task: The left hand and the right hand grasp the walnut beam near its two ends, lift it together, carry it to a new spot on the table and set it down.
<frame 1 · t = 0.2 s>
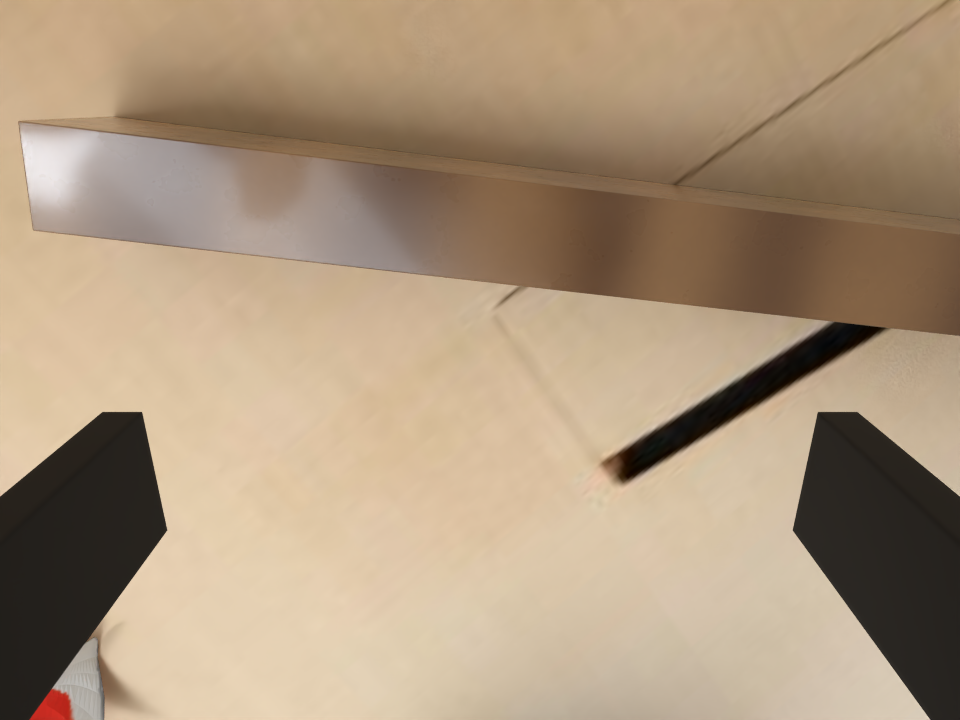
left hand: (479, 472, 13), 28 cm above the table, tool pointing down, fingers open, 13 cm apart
beam: (720, 233, 39), on the table
fish: (50, 675, 52), on the table
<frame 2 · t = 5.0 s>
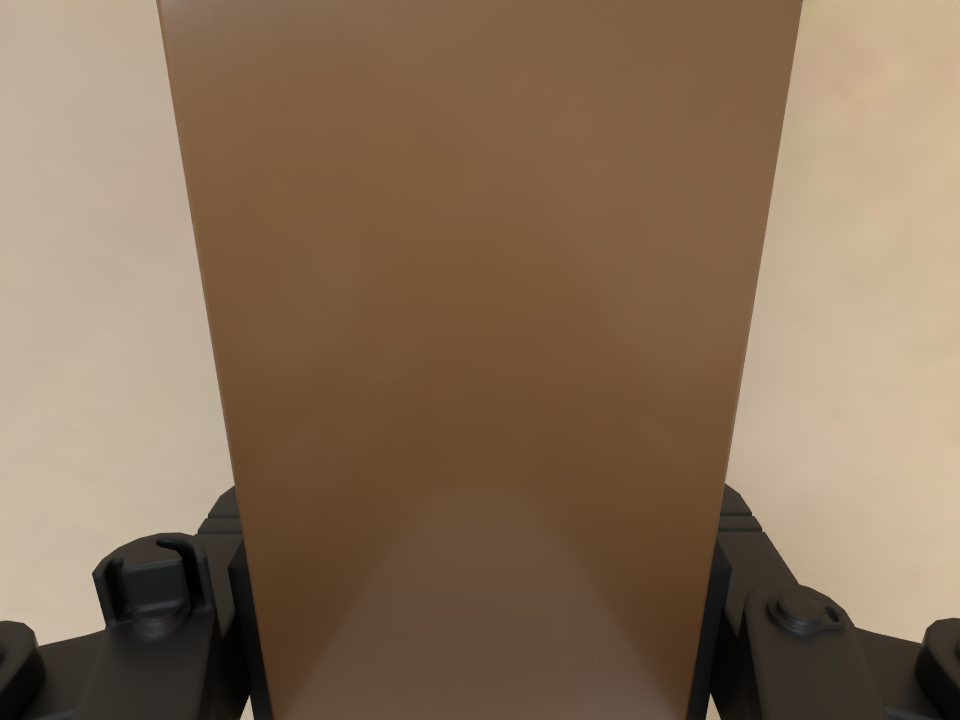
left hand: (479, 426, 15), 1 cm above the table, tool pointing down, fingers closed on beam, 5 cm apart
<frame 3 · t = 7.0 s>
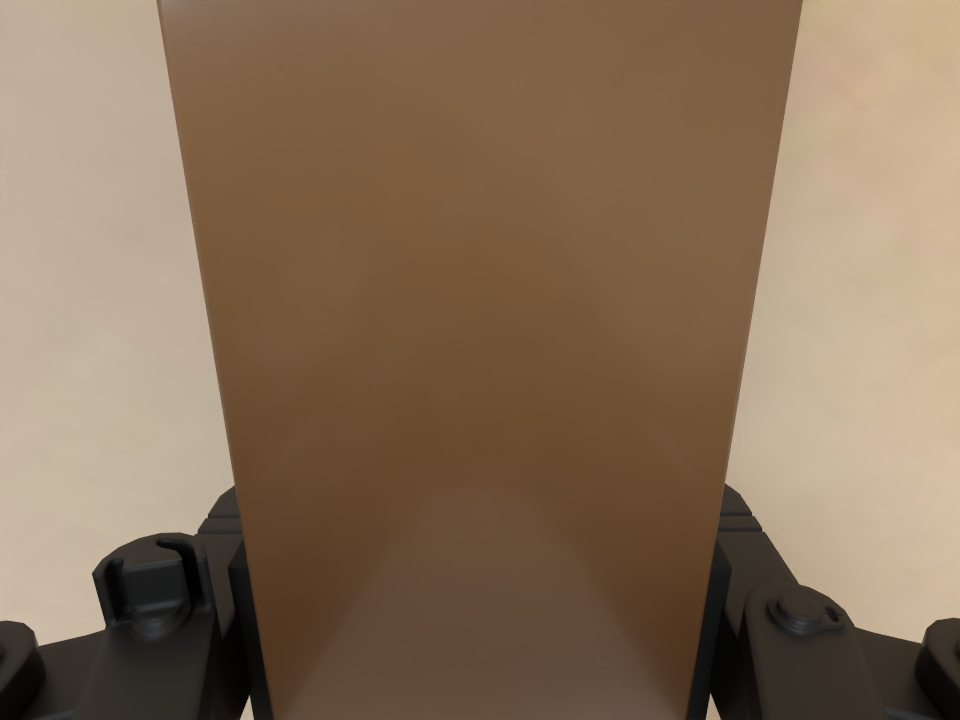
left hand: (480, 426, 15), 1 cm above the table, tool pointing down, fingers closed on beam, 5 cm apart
when the left hand's fingers open (2 cm above the table, at t = 12.5 s): beam stays where it is, on the table.
when the right hand's fingers open (4 cm above the table, at t = 12.6 s): beam stays where it is, on the table.
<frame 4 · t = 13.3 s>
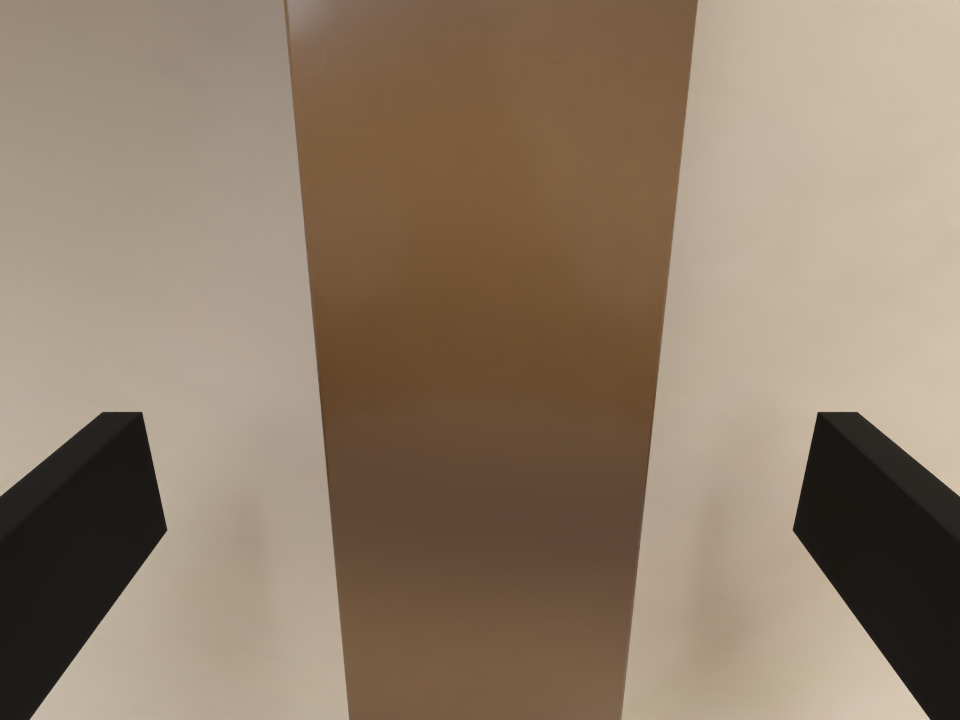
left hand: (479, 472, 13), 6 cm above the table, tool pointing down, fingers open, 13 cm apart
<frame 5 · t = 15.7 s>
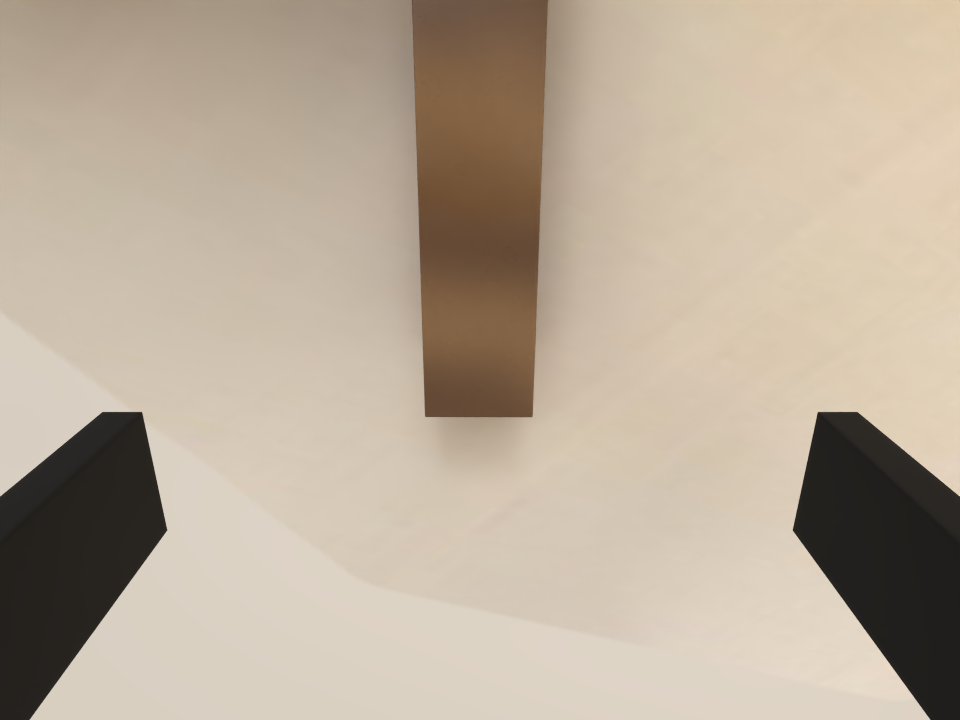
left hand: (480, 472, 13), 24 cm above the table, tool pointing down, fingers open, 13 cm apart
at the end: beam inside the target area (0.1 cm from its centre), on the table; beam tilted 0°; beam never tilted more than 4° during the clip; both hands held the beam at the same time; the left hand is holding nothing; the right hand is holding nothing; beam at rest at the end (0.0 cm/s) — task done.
